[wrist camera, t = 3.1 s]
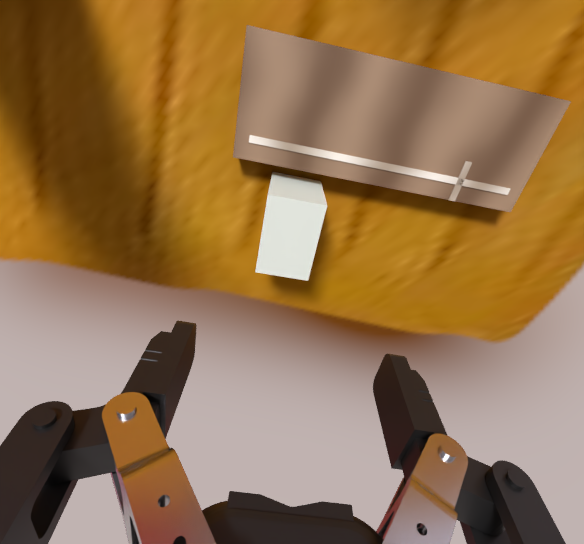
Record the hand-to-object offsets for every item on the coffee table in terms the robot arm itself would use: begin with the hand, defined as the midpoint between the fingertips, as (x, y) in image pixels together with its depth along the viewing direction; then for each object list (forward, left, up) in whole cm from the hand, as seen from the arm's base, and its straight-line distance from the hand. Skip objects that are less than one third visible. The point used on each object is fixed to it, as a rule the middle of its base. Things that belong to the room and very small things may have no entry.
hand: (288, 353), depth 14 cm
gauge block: (0, 0, -17) cm, 17 cm away
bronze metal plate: (+2, +10, -17) cm, 20 cm away
